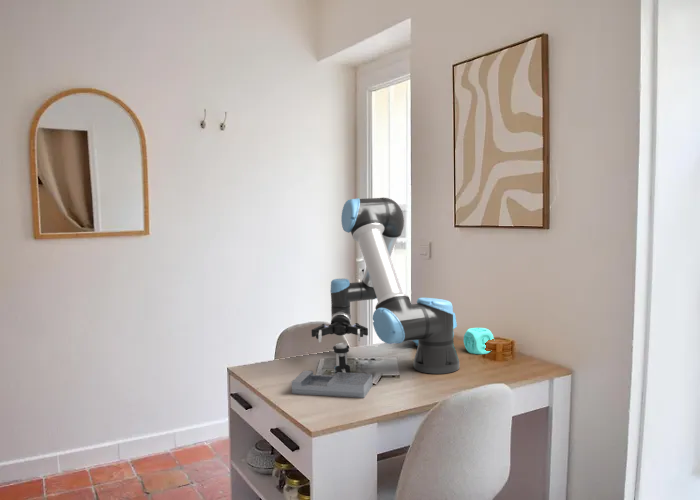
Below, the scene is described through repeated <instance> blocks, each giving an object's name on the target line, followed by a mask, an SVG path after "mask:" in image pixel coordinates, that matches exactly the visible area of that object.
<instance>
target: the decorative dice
mask: <svg viewBox="0 0 700 500" xmlns="http://www.w3.org/2000/svg"><path fill="white" fill-rule="evenodd" d="M492 339H494V340H495V337H494V334H493V333H492V331H491V330H490V329H488V328H486V327H470V328H468V329H467V330H466V332H465V333H464V335H463V345H464V347H465V350H466V351H467V352H468V353H469V354H472V355H487V354H489V353H491V351H486V350H485V348H486V345H485V343H486V342H487V341H488V340H492Z"/></svg>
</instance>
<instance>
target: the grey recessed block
mask: <svg viewBox="0 0 700 500" xmlns="http://www.w3.org/2000/svg"><path fill="white" fill-rule="evenodd" d="M373 386H374V385H373V373H367V372H366V373H363V372H362V373H361V372H350V373H345V372H337V373H336V374H334V375H328V374H326V375H325V374H314V370H303V371H302V372H301V373H299V374H298V375H297V376H296V377H295V378H294V379H293V380H292V381H291V394H292V395H310V396H324V397H325V396H326V397H343V398H354V399H355V398H359V399H365V397H366V396H367V395H368V393H369V392H370V391H371V389H372V388H373Z"/></svg>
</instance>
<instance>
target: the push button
mask: <svg viewBox="0 0 700 500" xmlns="http://www.w3.org/2000/svg"><path fill="white" fill-rule="evenodd" d="M332 349H333V352H334V353H335V357H336V358H335V359H336V364H335V366H334V370H330V376H334V375H335V374H336V373H337V372H345V373H351V366H350V365H349V363H348V353H349V352H350V345H347V343H346V342H337V343H335V345H334V346H333V347H332Z"/></svg>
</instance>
